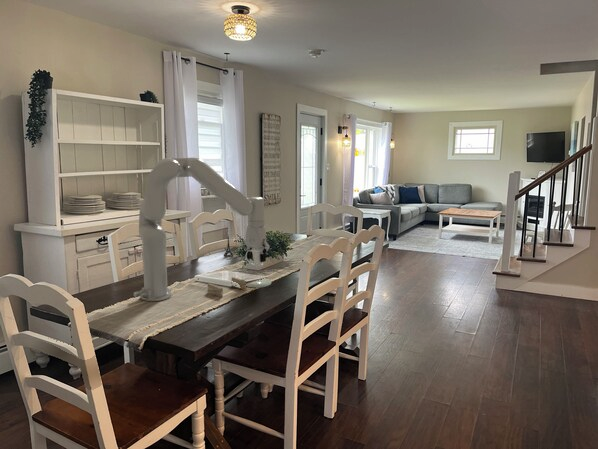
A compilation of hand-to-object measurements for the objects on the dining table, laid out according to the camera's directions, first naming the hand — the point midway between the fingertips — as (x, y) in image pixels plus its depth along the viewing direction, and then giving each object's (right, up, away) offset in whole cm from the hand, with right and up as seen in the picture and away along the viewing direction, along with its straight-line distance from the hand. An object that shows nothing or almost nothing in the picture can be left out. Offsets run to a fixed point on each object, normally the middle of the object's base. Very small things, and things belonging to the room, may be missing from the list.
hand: (256, 259), depth 214 cm
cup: (0, -3, 0) cm, 3 cm away
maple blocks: (-12, -13, -10) cm, 21 cm away
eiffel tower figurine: (-21, -3, +53) cm, 57 cm away
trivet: (0, -11, +2) cm, 11 cm away
